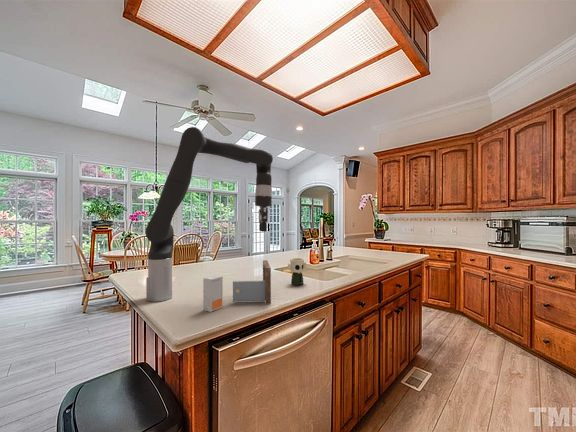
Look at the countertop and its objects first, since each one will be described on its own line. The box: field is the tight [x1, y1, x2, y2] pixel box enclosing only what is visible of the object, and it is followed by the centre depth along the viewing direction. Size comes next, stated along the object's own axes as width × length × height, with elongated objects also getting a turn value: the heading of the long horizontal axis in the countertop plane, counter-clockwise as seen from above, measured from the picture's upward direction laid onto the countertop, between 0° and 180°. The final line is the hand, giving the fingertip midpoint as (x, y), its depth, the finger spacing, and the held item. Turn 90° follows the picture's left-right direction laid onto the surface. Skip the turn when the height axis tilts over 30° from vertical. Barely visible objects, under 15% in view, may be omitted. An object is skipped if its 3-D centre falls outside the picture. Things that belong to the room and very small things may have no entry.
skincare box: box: [202, 274, 224, 313], centre depth 98 cm, size 6×4×12 cm
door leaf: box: [232, 280, 266, 303], centre depth 104 cm, size 3×14×8 cm, turn 94°
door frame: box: [262, 259, 272, 305], centre depth 112 cm, size 2×19×14 cm, turn 9°
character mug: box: [287, 257, 307, 286], centre depth 132 cm, size 11×7×13 cm, turn 119°
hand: (262, 231), depth 118 cm, fingers open, 8 cm apart
